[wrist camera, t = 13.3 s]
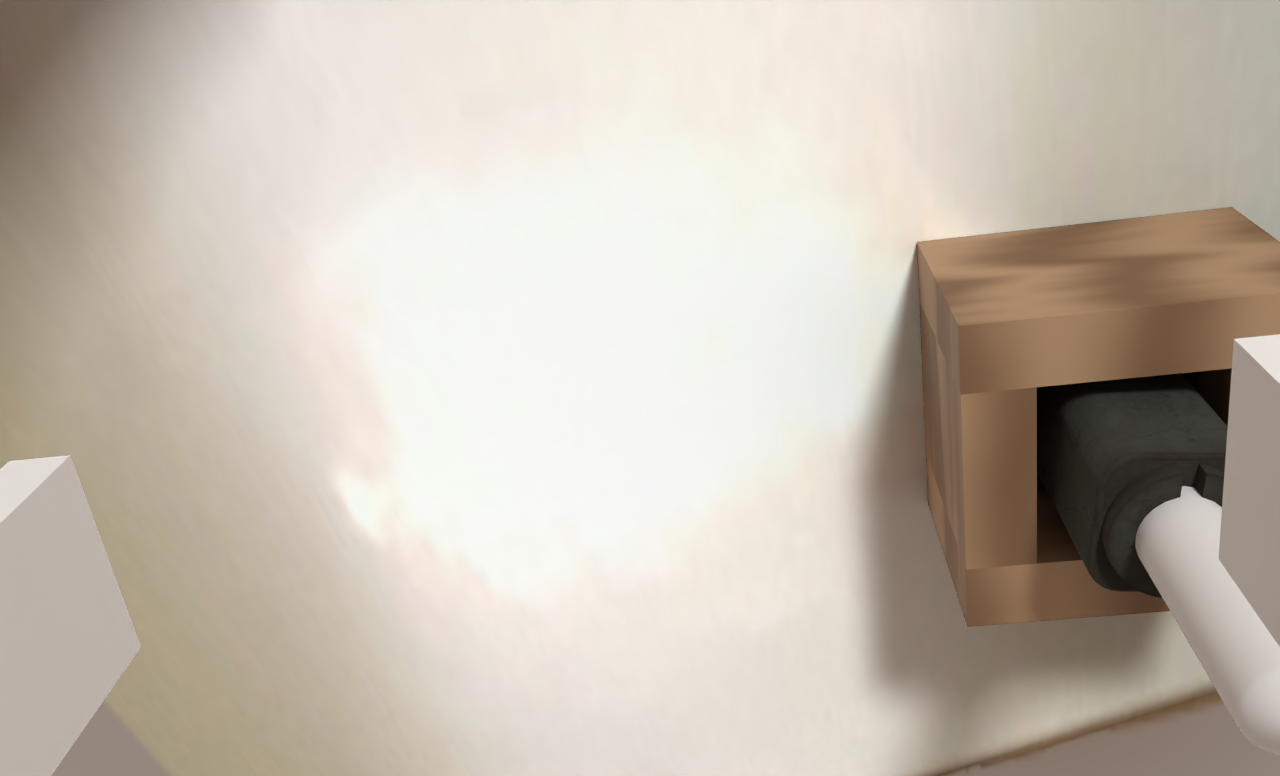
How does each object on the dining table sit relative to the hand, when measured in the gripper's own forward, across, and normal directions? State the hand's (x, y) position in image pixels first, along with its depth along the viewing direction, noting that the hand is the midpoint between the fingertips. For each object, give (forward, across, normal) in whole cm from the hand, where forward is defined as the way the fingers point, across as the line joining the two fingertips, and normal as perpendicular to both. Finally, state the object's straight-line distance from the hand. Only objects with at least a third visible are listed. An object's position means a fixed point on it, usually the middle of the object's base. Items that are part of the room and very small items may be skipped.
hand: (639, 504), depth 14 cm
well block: (+35, +14, -15) cm, 40 cm away
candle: (+35, +14, -15) cm, 40 cm away
